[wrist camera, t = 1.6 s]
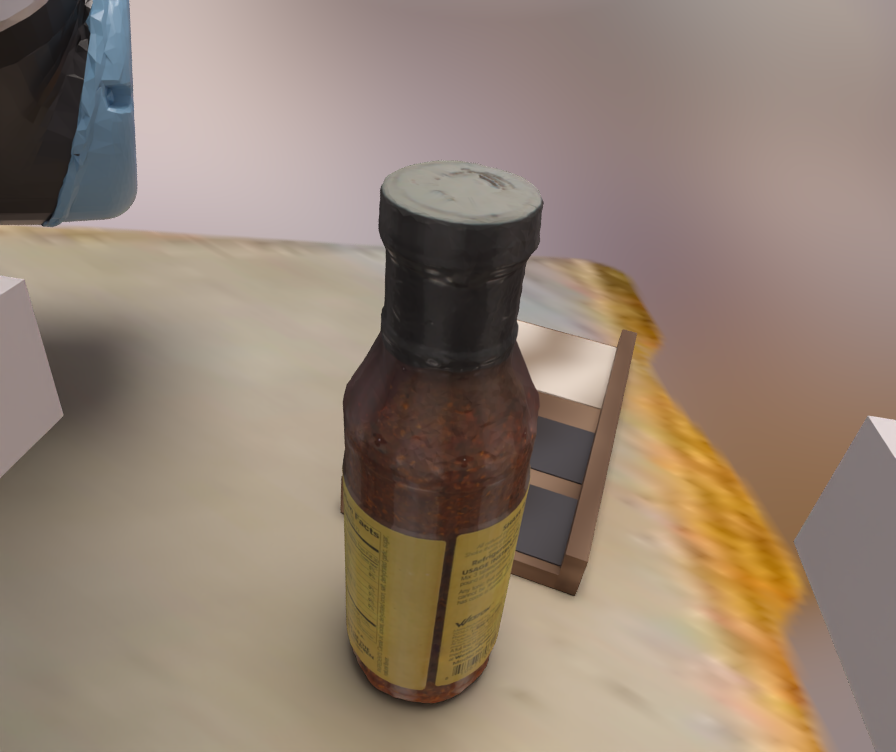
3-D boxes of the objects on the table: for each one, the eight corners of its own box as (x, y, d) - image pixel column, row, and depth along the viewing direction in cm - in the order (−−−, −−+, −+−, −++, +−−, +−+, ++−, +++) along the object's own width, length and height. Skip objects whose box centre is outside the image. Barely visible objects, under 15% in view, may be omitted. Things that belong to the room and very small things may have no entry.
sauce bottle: (482, 577, 31) (580, 153, 19) (502, 711, 26) (652, 250, 14) (340, 578, 30) (352, 133, 18) (333, 717, 25) (343, 229, 13)
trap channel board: (340, 512, 33) (341, 476, 32) (467, 318, 49) (472, 288, 48) (574, 595, 31) (587, 561, 29) (627, 362, 47) (637, 333, 46)
